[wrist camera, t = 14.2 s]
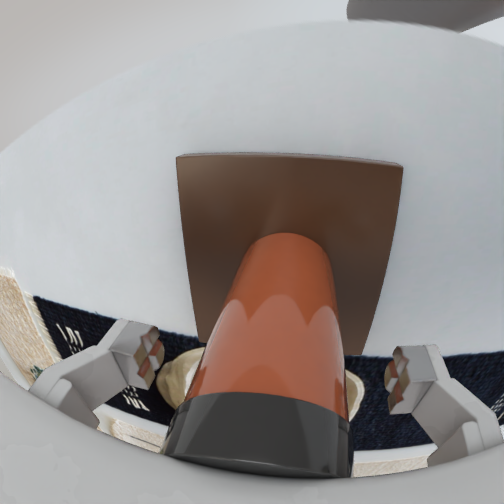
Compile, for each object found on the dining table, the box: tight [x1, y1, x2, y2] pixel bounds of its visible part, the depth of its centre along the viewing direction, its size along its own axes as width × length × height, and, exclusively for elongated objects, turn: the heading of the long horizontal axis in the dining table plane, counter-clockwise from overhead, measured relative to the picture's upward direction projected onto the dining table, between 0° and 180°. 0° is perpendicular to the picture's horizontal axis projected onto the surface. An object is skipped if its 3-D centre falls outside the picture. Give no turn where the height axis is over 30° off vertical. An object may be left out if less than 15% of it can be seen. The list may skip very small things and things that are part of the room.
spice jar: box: [158, 233, 354, 479], centre depth 9 cm, size 5×5×10 cm
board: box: [176, 152, 403, 355], centre depth 14 cm, size 11×10×1 cm
